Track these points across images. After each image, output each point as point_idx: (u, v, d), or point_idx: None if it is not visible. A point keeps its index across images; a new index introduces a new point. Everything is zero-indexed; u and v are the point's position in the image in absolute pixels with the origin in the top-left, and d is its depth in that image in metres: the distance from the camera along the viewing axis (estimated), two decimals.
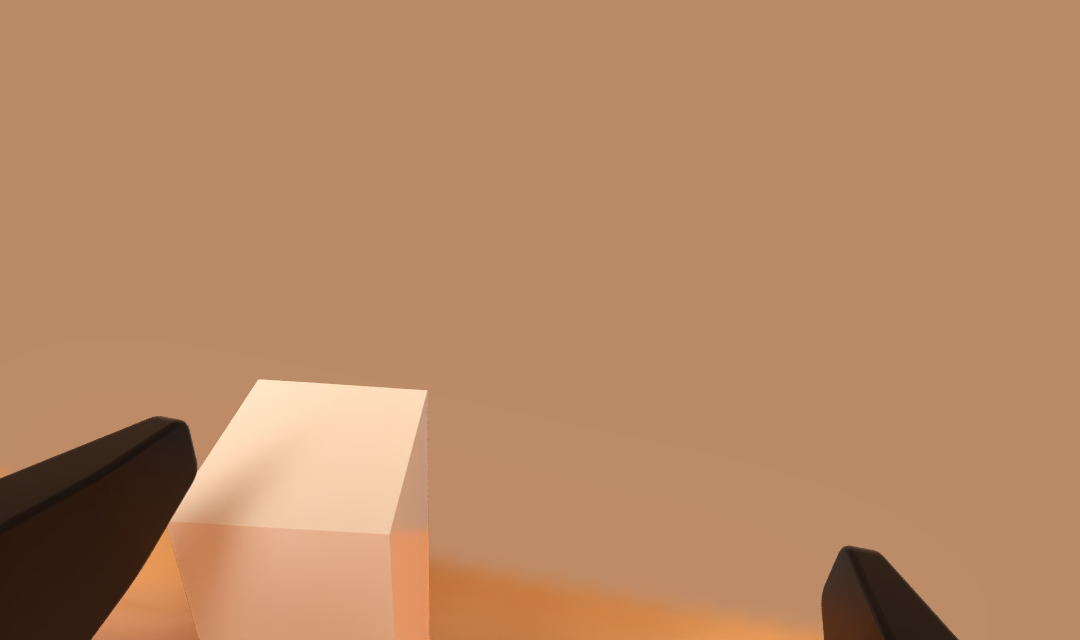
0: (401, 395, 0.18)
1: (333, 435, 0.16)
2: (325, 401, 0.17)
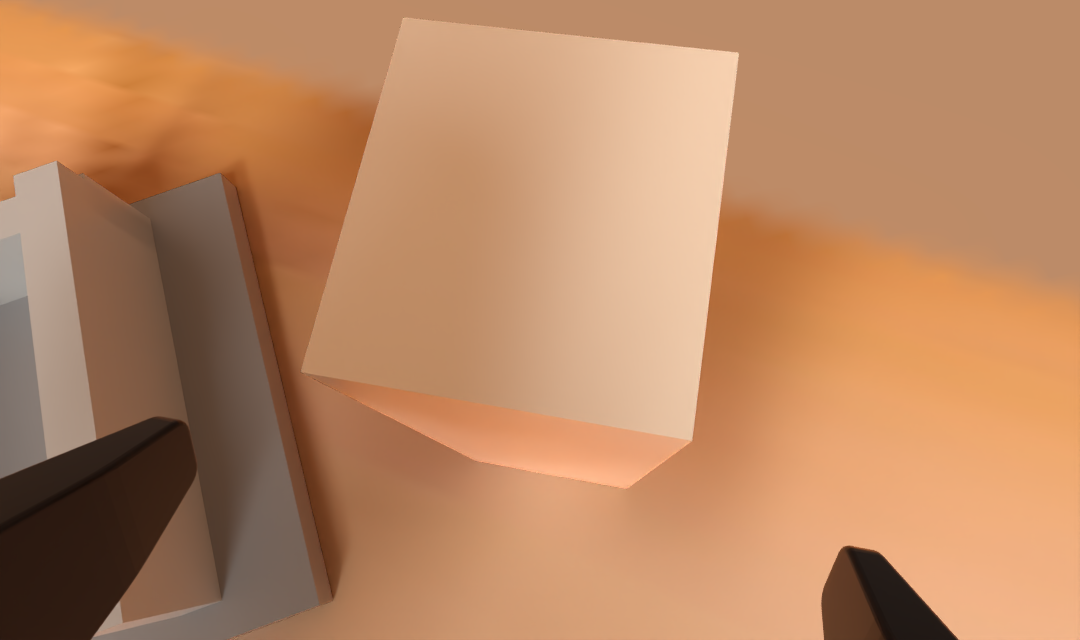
0: (685, 67, 0.08)
1: (561, 177, 0.08)
2: (536, 80, 0.09)
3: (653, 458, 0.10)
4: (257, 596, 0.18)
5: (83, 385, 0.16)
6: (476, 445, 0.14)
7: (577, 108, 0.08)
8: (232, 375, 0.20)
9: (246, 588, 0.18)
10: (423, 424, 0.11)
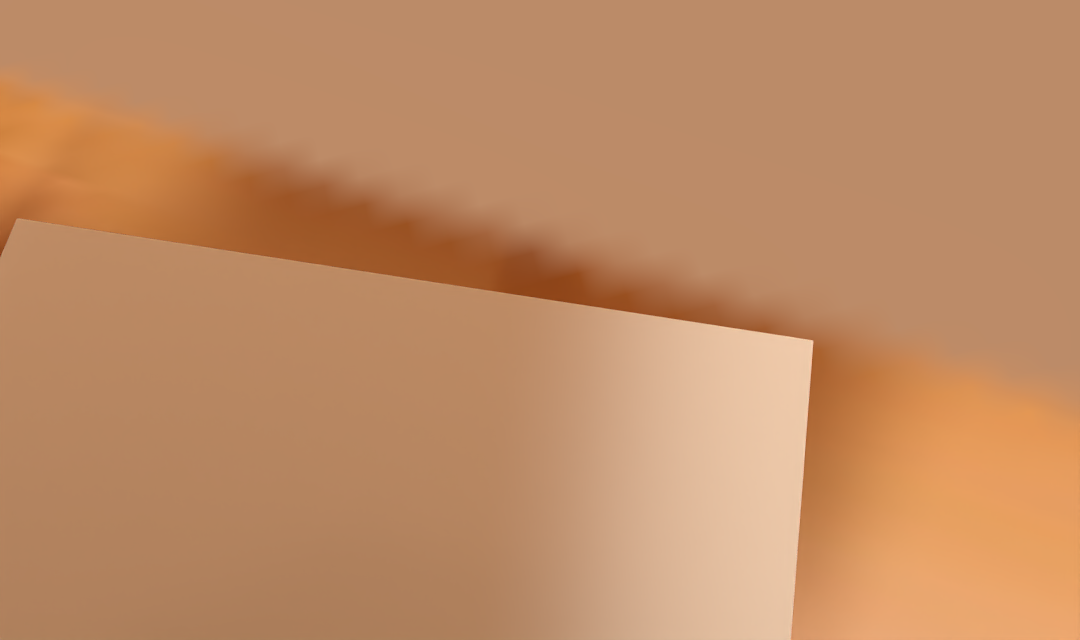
0: (677, 377, 0.03)
1: None
2: (303, 405, 0.03)
3: None
4: None
5: None
6: None
7: (397, 491, 0.03)
8: None
9: None
10: None
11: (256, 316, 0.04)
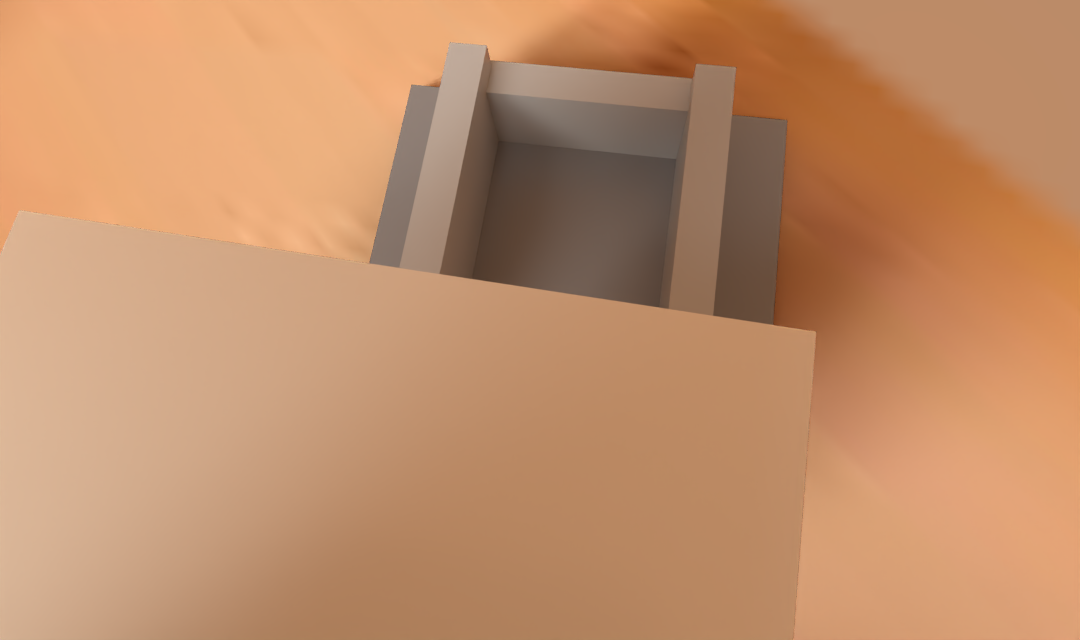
0: (679, 367, 0.03)
1: None
2: (305, 395, 0.03)
3: None
4: None
5: (712, 266, 0.18)
6: None
7: (399, 482, 0.03)
8: (743, 299, 0.22)
9: None
10: None
11: (258, 308, 0.04)
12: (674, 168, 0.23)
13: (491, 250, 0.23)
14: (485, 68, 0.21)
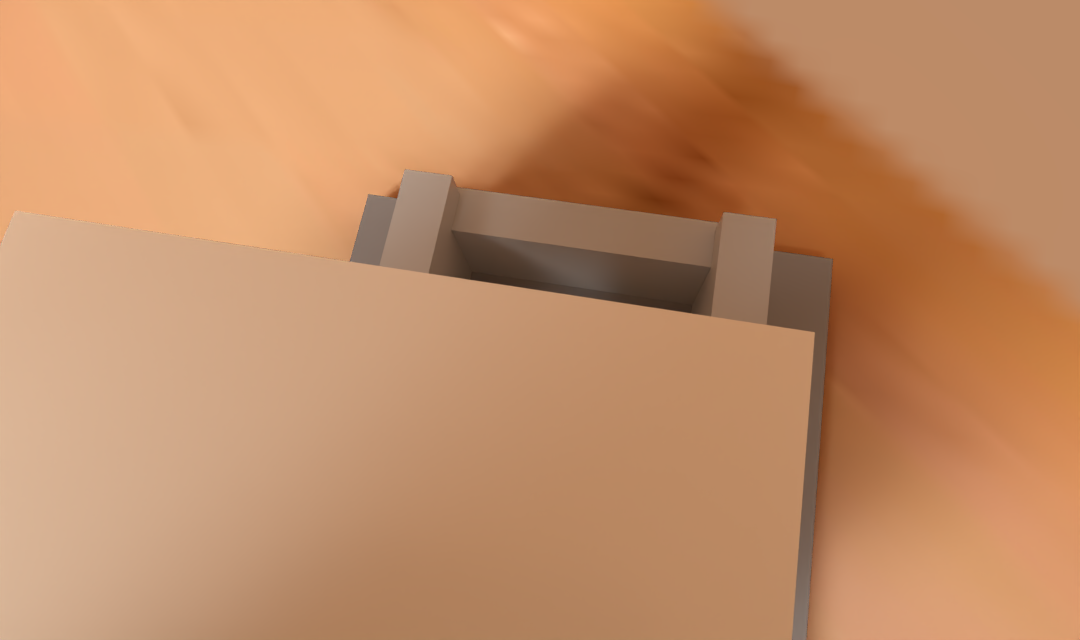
0: (675, 367, 0.03)
1: None
2: (302, 395, 0.03)
3: None
4: None
5: None
6: None
7: (396, 483, 0.03)
8: None
9: None
10: None
11: (255, 308, 0.04)
12: None
13: None
14: (450, 202, 0.16)
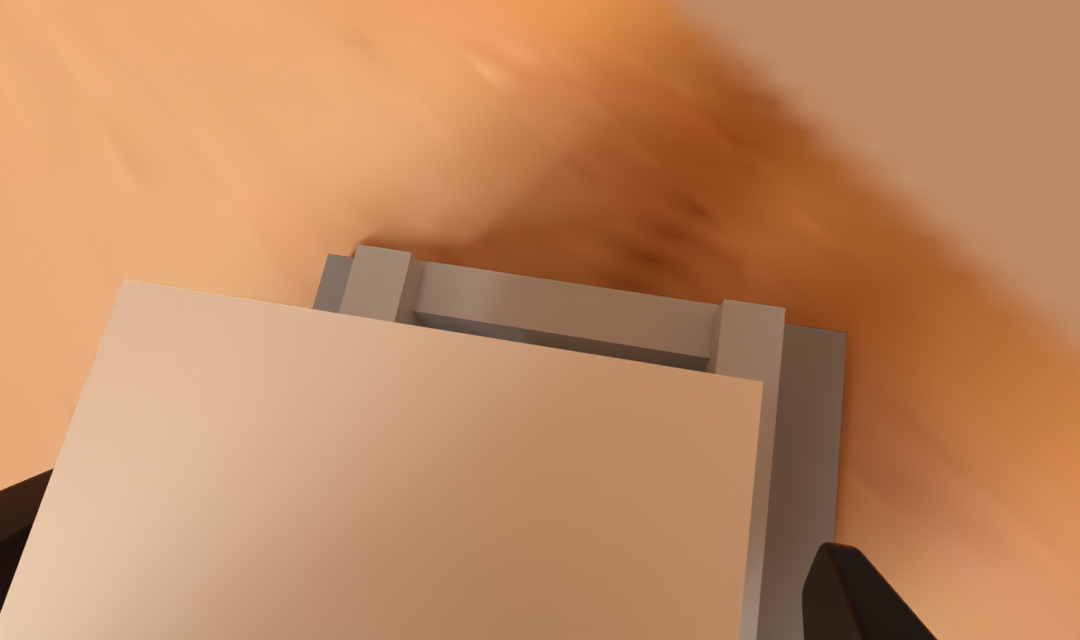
0: (656, 411, 0.04)
1: None
2: (360, 431, 0.04)
3: None
4: None
5: None
6: None
7: (436, 501, 0.04)
8: (782, 613, 0.15)
9: None
10: None
11: (321, 360, 0.04)
12: None
13: None
14: (410, 282, 0.14)
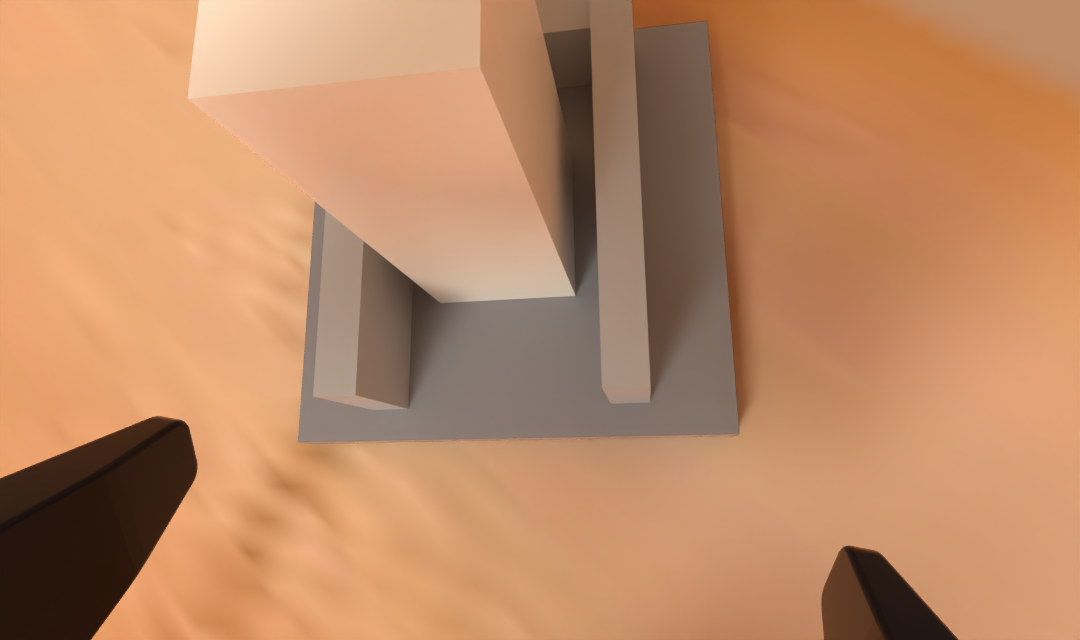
0: None
1: None
2: None
3: (506, 153, 0.12)
4: (683, 409, 0.20)
5: (635, 177, 0.18)
6: (405, 238, 0.16)
7: None
8: (689, 212, 0.21)
9: (674, 399, 0.20)
10: (336, 197, 0.13)
11: None
12: None
13: None
14: None
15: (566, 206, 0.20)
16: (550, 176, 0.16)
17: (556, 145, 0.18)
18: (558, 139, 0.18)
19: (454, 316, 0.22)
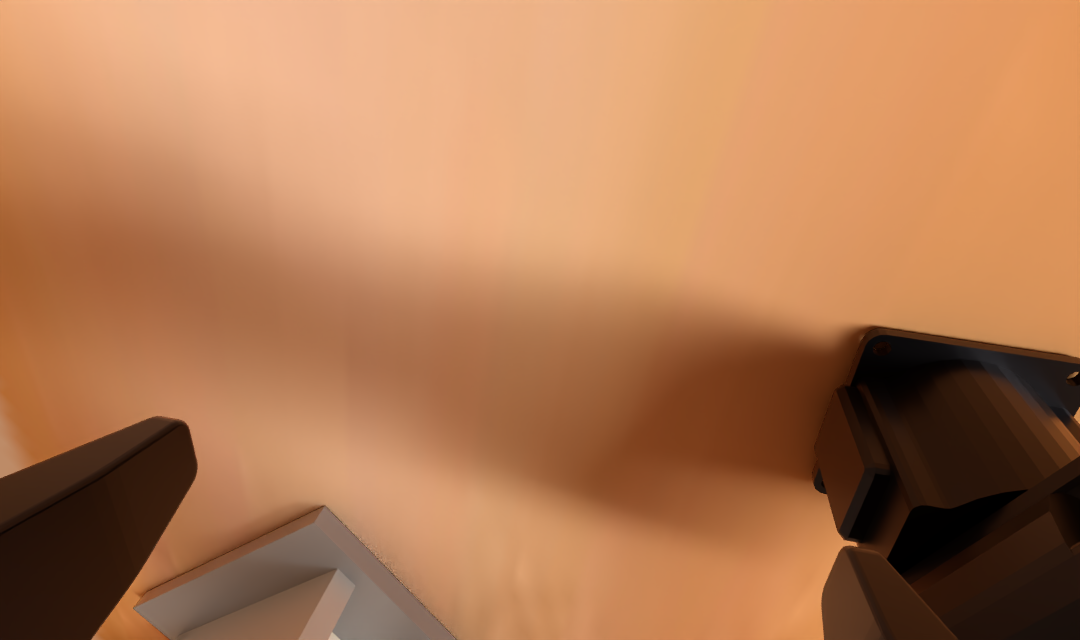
0: None
1: None
2: None
3: None
4: (326, 552, 0.29)
5: None
6: None
7: None
8: (229, 583, 0.31)
9: (325, 558, 0.29)
10: None
11: None
12: None
13: None
14: None
15: None
16: None
17: None
18: None
19: None
